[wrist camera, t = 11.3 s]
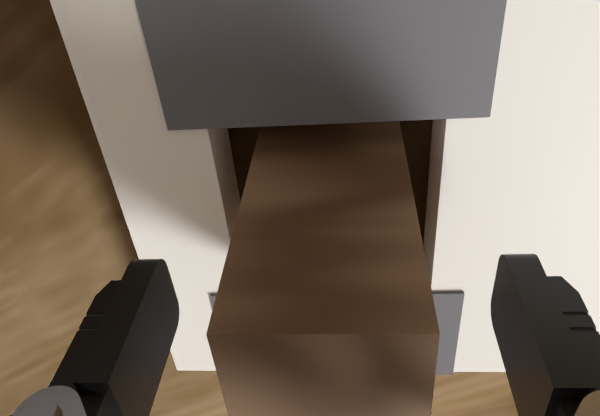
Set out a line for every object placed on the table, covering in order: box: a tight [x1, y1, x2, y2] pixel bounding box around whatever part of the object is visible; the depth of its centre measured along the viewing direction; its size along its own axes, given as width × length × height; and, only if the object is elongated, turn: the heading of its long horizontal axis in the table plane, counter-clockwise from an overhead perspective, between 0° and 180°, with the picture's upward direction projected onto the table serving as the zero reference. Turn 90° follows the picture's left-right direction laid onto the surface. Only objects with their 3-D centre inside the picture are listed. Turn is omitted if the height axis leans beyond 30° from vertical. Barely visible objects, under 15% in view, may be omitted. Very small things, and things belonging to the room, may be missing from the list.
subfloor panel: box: [50, 0, 600, 375], centre depth 16 cm, size 18×14×2 cm
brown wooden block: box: [206, 121, 440, 416], centre depth 13 cm, size 4×4×8 cm
